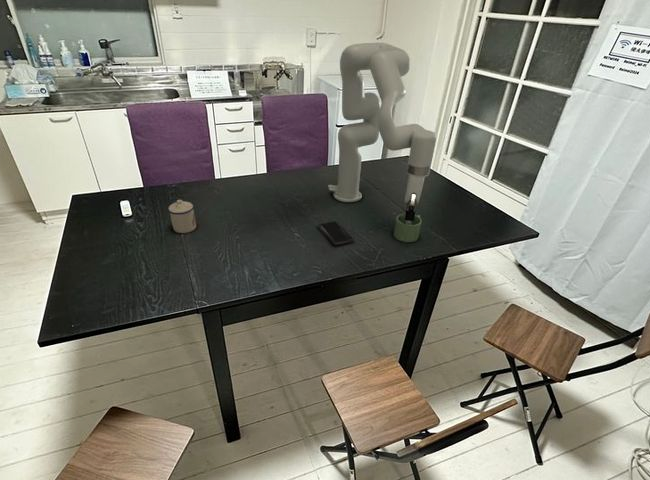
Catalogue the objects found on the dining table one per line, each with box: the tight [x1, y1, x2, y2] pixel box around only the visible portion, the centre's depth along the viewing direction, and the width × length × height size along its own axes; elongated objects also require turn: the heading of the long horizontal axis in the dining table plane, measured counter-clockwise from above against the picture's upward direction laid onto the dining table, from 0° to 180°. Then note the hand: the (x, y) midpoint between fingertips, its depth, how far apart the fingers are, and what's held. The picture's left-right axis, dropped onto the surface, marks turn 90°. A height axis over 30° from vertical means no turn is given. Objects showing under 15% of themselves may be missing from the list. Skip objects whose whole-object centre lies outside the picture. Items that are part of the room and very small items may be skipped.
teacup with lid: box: [168, 199, 197, 234], centre depth 145 cm, size 12×9×12 cm
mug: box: [393, 213, 423, 243], centre depth 143 cm, size 12×9×7 cm
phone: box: [318, 220, 353, 247], centre depth 144 cm, size 8×1×15 cm
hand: (409, 214), depth 139 cm, fingers open, 8 cm apart
